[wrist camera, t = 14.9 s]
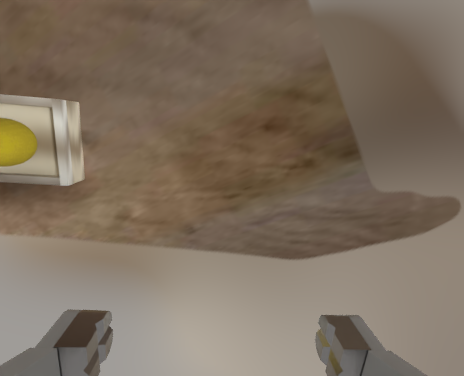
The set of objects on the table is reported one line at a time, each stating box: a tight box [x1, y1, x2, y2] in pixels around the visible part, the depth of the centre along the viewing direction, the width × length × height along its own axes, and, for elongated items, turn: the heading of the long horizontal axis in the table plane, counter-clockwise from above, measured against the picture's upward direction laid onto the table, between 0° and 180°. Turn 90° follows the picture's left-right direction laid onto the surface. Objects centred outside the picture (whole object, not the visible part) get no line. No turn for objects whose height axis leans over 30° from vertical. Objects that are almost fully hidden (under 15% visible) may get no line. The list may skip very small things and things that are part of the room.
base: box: [0, 94, 85, 186], centre depth 33 cm, size 11×11×4 cm
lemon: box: [0, 118, 38, 167], centre depth 28 cm, size 6×6×8 cm
